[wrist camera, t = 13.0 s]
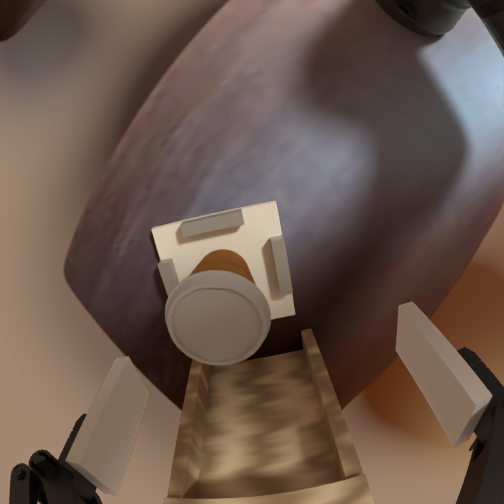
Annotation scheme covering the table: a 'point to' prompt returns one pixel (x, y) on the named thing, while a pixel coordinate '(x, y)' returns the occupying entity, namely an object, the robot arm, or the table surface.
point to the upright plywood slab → (265, 435)
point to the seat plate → (230, 238)
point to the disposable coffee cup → (218, 311)
